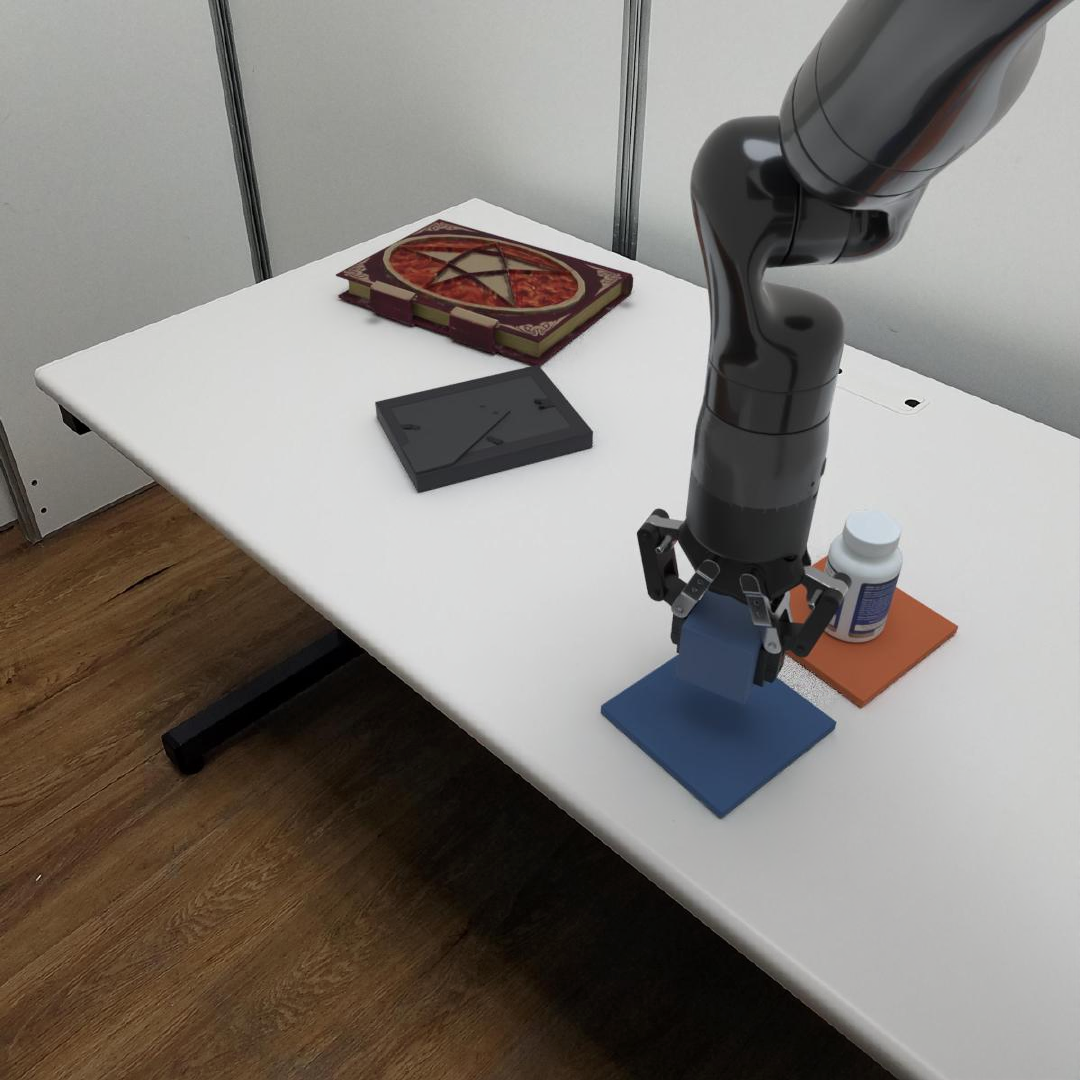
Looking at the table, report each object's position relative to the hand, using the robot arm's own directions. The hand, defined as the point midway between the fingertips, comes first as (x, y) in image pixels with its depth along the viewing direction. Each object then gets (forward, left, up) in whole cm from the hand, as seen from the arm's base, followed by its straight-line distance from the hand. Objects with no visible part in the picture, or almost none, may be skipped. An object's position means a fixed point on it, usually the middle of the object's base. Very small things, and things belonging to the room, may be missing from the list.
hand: (724, 661), depth 73 cm
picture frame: (+40, -9, -6) cm, 42 cm away
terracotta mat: (0, -15, -6) cm, 16 cm away
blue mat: (0, 0, -6) cm, 6 cm away
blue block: (0, 0, -1) cm, 1 cm away
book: (+62, -26, -6) cm, 68 cm away
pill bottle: (0, -15, -6) cm, 16 cm away
